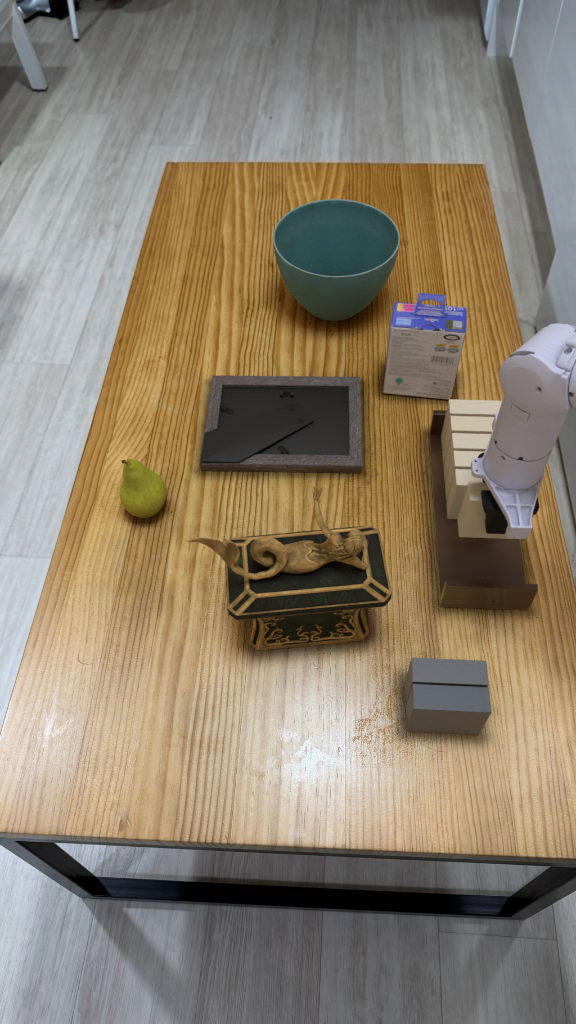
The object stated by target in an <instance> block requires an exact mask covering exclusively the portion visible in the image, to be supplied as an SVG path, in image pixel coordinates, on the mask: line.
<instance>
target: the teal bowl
mask: <svg viewBox="0 0 576 1024" xmlns="http://www.w3.org/2000/svg"><path fill="white" fill-rule="evenodd" d="M400 242H401V234H400V230H399V228H398V226H397V224H396V223H395V221H394V220H393V219H392V218H391V217H390V216H389V215H388V214H387V213H386V212H384V211H382V210H381V209H379V208H377V207H375V206H372V205H370V204H368V203H364V202H362V201H357V200H352V199H343V198H328V199H320V200H319V199H318V200H314V201H310V202H306V203H304V204H301V205H299V206H297V207H294V208H293V209H291V210H290V211H288V212H287V213H285V215H283V216H282V217H281V218H280V219H279V221H277V223H276V224H275V227H274V229H273V234H272V245H273V252H274V256H275V260H276V265H277V268H278V271H279V273H280V276H281V279H282V280H283V282H284V284H285V287H286V289H288V292H289V293H290V294H291V296H292V297H293V298H294V300H295V301H296V302H297V303H298V304H299V305H300V306H301V307H302V308H303V309H304V310H305V311H307V312H308V313H309V314H311V315H312V316H313V317H315V318H317V319H320V320H322V321H328V322H340V321H341V322H342V321H345V320H348V319H351V318H353V317H355V316H356V315H357V314H359V313H361V312H362V311H363V310H364V309H365V308H367V307H368V306H369V305H370V304H372V302H373V301H374V300H375V299H376V298H377V297H378V296H379V294H380V293H381V291H382V290H383V288H384V287H385V285H386V283H387V281H388V279H389V278H390V276H391V273H392V272H393V270H394V266H395V263H396V260H397V258H398V255H399V250H400V249H399V248H400V244H401V243H400Z"/></svg>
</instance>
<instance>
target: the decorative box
mask: <svg viewBox="0 0 576 1024" xmlns="http://www.w3.org/2000/svg"><path fill="white" fill-rule="evenodd" d="M322 492H323V486H322V485H321V486H320V488H319V485H318V484H316V487H315V486H313V488H311V493H312V498H313V503H314V504H313V509H314V518H315V521H316V523H317V526H318V528H319V529H313V530H302V531H300V530H298V531H292V532H281V533H271V534H270V533H269V534H260V535H247V536H238V537H237V536H236V537H231V538H229V539H226V538H223V540H219V539H215V538H208V537H201V536H199V537H197V536H196V537H191V538H188V539H186V540H185V542H186V543H199V544H201V545H204V546H206V547H208V548H210V549H212V551H213V552H215V553H216V554H217V555H218V556H219V557H220V558H221V560H222V561H223V562H224V569H225V570H224V571H225V572H224V573H225V587H226V588H225V589H226V607H227V614H228V616H230V617H231V618H232V619H234V620H235V621H246V620H247V630H248V643H249V645H250V646H251V647H253V648H254V649H255V650H256V651H265V650H275V649H277V650H278V649H287V648H297V647H307V646H317V645H326V644H327V645H328V644H337V643H349V642H359V641H360V642H361V641H363V640H365V638H366V636H368V634H369V631H370V630H369V625H368V620H367V613H366V609H374V608H375V609H376V608H384V607H386V606H387V605H388V604H389V602H390V601H391V600H392V596H393V592H392V587H391V582H390V577H389V573H388V568H387V562H386V557H385V552H384V546H383V542H382V537H381V532H380V530H379V529H378V528H376V527H375V526H373V525H369V524H368V525H357V526H348V527H337V528H330V527H329V526H328V525H327V524H326V523H325V520H324V516H323V514H322V510H321V506H320V498H321V496H322Z"/></svg>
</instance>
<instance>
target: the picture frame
mask: <svg viewBox="0 0 576 1024" xmlns="http://www.w3.org/2000/svg"><path fill="white" fill-rule="evenodd" d="M361 391H362V389H361V376H310V375H309V376H308V375H307V376H304V375H303V376H302V375H299V376H298V375H292V376H291V375H216V374H215V375H211V383H210V391H209V396H208V397H209V398H208V405H207V413H206V419H205V420H206V421H205V428H204V433H203V440H202V446H201V448H202V449H201V454H200V460H199V462H200V467H201V472H252V473H253V472H255V473H256V472H257V473H258V472H259V473H261V472H263V473H318V474H319V473H321V474H322V473H325V474H326V473H327V474H363V466H364V464H363V431H362V424H363V423H362V392H361Z"/></svg>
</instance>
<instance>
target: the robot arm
mask: <svg viewBox="0 0 576 1024" xmlns="http://www.w3.org/2000/svg"><path fill="white" fill-rule="evenodd" d="M498 374H499V375H498V376H499V383H500V386H501V389H502V391H503V393H504V395H503V397H502V400H501V401H502V403H501V406H500V410H499V413H495V416H494V419H493V423H492V430H493V431H492V434H491V437H490V439H489V442H488V445H487V448H486V450H485V452H484V453H481V454H479V456H478V458H474V459H473V460H472V462H471V474H472V476H473V477H475V478H482V480H483V482H484V483H486V484H487V486H488V488H489V489H490V490H481V498H482V506H483V509H484V512H485V513H486V518H485V528H486V533H487V534H505V533H506V536H507V538H514V539H520V540H528V539H529V537H530V535H531V532H532V531H533V530H532V529H533V517H534V516H535V515H537V514H538V512H539V510H540V500H539V494H540V490H541V487H542V483H543V480H544V476H545V469H546V466H547V465H548V463H549V460H550V457H551V455H552V453H553V450H554V447H555V445H556V443H557V440H558V437H559V435H560V433H561V430H562V428H563V426H564V423H565V421H566V418H567V416H568V413H569V409H570V410H575V411H576V326H575V325H572V324H568V323H560V322H559V323H558V322H555V323H550V324H548V325H546V326H545V325H544V327H543V328H541V329H540V330H539V331H538V332H537V333H535V334H534V335H533V336H532V337H530V338H529V339H528V340H526V341H525V342H524V343H523V344H522V345H521V346H519V347H518V348H517V349H516V350H515V351H513V352H511V353H510V354H509V356H508V357H507V358H506V359H505V360H504V361H503V363H502V364H501V366H500V368H499V373H498ZM532 516H533V517H532Z"/></svg>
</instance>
